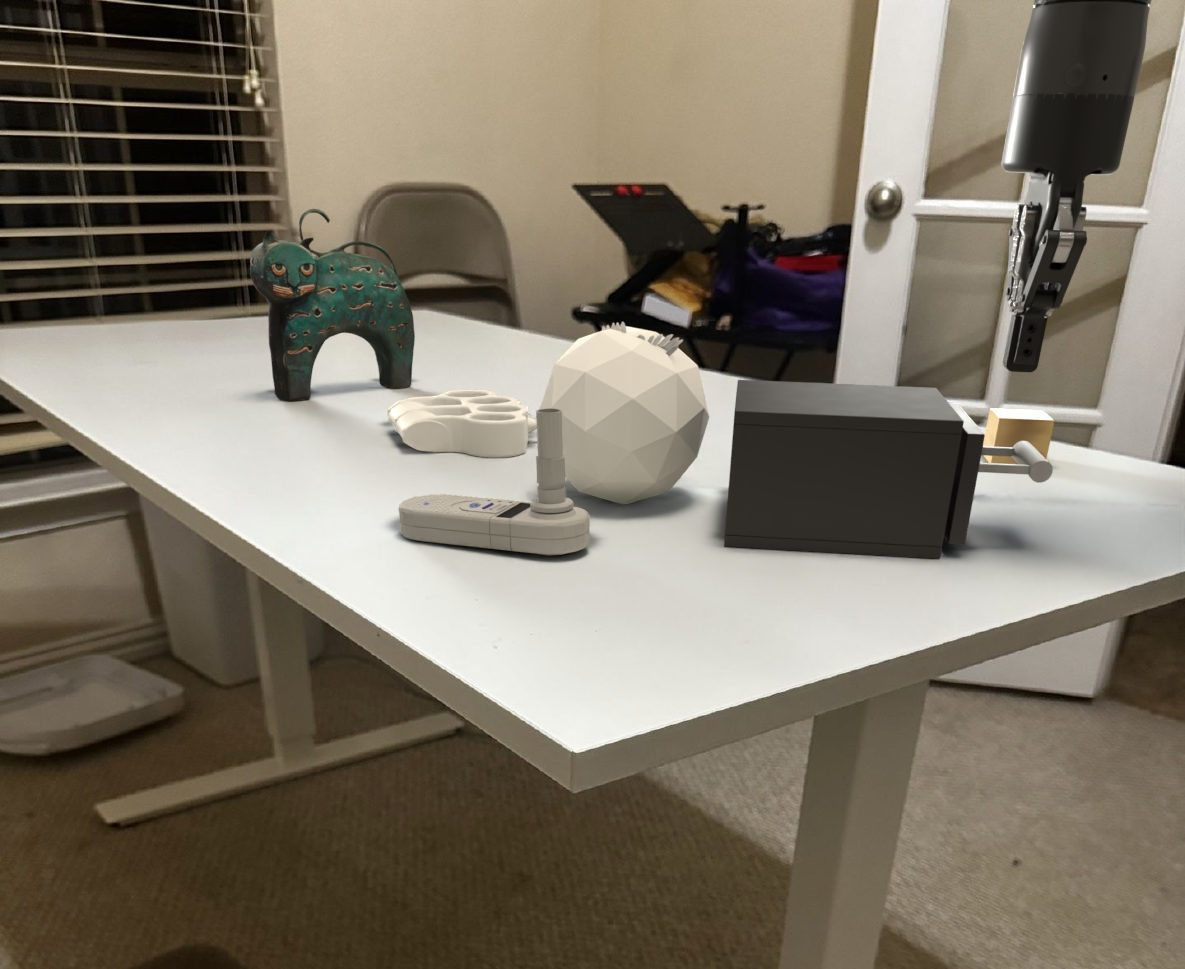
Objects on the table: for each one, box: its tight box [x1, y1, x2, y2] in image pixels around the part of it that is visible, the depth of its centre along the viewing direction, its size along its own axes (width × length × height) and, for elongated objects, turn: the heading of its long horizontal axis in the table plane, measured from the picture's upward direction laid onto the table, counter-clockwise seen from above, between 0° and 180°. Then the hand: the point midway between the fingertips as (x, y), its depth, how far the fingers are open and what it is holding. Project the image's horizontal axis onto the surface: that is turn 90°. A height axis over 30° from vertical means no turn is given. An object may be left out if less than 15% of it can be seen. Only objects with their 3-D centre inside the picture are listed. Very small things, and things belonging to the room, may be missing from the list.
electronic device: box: [398, 408, 591, 556], centre depth 82 cm, size 5×10×15 cm
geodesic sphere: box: [539, 321, 710, 506], centre depth 93 cm, size 15×14×14 cm
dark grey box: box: [723, 379, 964, 560], centre depth 87 cm, size 16×14×10 cm
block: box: [982, 408, 1055, 464], centre depth 108 cm, size 5×5×5 cm
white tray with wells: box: [387, 389, 537, 459], centre depth 115 cm, size 3×18×15 cm
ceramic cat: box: [249, 208, 416, 402], centre depth 133 cm, size 20×6×20 cm, turn 132°
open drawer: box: [944, 401, 1054, 546], centre depth 86 cm, size 20×13×8 cm, turn 83°
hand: (1018, 370), depth 82 cm, fingers closed
